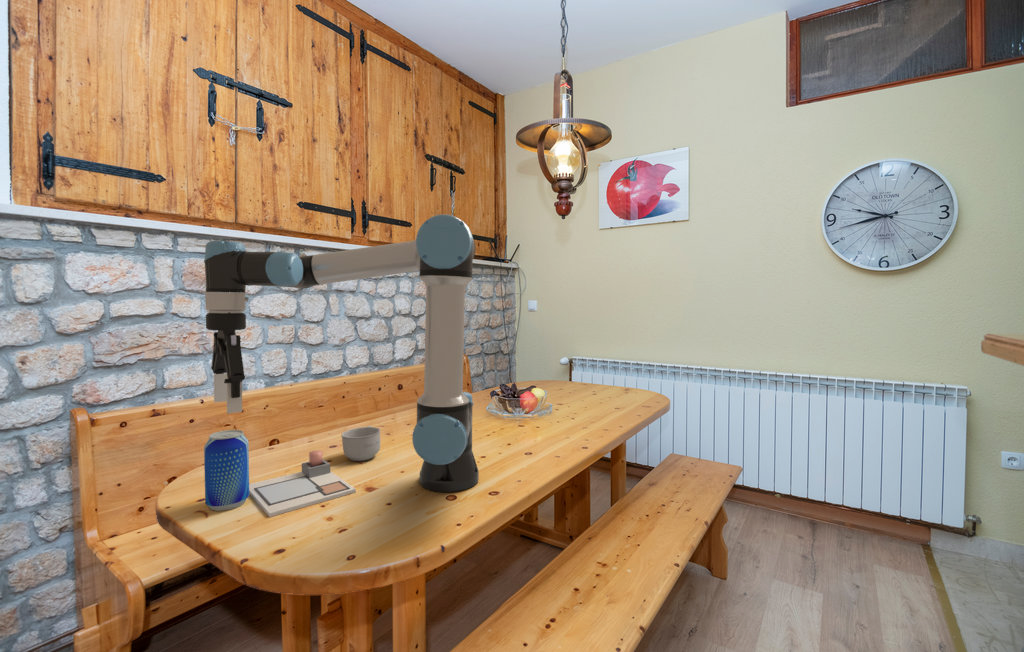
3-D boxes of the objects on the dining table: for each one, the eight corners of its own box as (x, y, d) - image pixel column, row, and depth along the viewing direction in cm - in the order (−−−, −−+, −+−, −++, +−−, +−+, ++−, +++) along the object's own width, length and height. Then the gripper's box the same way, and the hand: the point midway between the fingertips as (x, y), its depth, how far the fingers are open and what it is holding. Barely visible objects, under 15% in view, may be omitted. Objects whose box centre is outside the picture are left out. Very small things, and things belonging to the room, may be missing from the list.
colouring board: (355, 492, 109) (355, 479, 109) (269, 517, 96) (269, 502, 96) (323, 469, 123) (323, 457, 123) (244, 488, 110) (244, 475, 110)
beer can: (202, 515, 96) (201, 441, 95) (208, 500, 104) (206, 431, 103) (248, 507, 100) (247, 436, 99) (250, 493, 107) (249, 427, 107)
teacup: (368, 465, 127) (368, 437, 126) (333, 462, 129) (333, 434, 128) (391, 450, 140) (391, 424, 140) (359, 447, 142) (359, 422, 142)
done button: (324, 463, 119) (324, 452, 118) (311, 466, 116) (311, 455, 116) (319, 460, 121) (319, 449, 121) (307, 463, 119) (307, 452, 119)
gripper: (260, 313, 94) (261, 414, 95) (232, 310, 112) (233, 395, 113) (217, 313, 89) (219, 420, 90) (196, 310, 107) (197, 399, 108)
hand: (227, 406), depth 101 cm, fingers open, 13 cm apart
